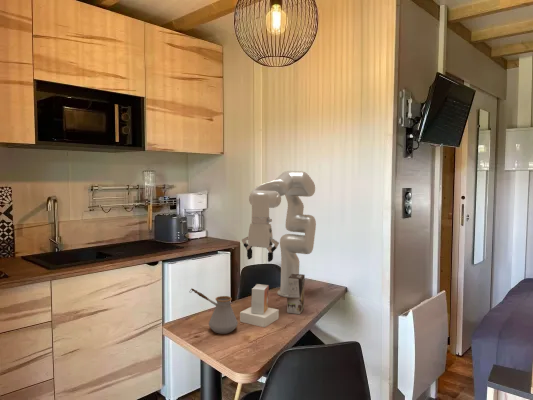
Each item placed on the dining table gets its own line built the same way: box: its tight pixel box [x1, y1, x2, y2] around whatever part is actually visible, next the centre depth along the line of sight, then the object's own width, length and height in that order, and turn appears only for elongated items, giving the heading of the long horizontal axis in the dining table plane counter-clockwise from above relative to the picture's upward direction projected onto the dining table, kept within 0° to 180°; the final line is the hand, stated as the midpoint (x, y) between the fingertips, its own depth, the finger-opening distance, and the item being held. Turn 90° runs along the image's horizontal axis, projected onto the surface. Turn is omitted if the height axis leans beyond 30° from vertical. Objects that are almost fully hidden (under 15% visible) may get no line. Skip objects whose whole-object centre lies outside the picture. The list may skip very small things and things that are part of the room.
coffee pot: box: [189, 288, 239, 335], centre depth 160 cm, size 21×12×15 cm, turn 67°
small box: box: [250, 283, 270, 314], centre depth 170 cm, size 8×6×10 cm
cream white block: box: [239, 306, 280, 328], centre depth 171 cm, size 12×12×4 cm
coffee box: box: [286, 273, 306, 315], centre depth 183 cm, size 9×6×16 cm
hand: (259, 259), depth 173 cm, fingers open, 9 cm apart
